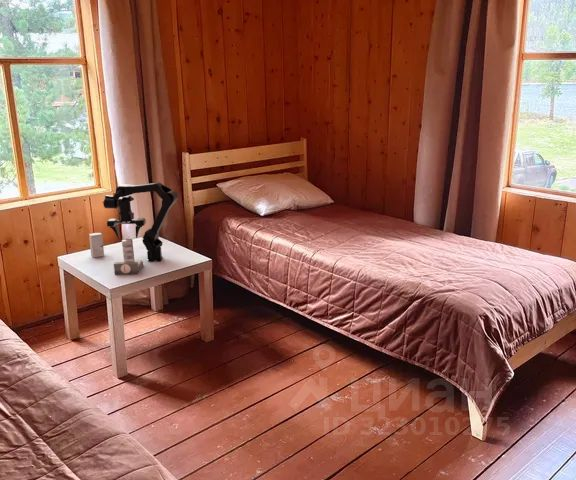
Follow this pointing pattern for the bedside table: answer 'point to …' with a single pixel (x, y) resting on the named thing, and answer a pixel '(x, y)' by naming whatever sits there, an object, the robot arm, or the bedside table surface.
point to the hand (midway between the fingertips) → (127, 238)
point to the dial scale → (128, 267)
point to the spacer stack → (128, 250)
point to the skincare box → (96, 244)
